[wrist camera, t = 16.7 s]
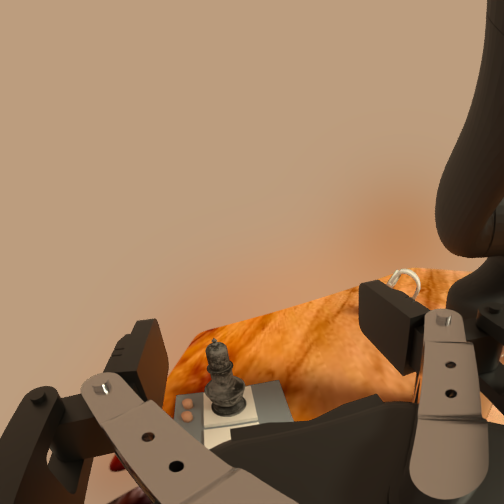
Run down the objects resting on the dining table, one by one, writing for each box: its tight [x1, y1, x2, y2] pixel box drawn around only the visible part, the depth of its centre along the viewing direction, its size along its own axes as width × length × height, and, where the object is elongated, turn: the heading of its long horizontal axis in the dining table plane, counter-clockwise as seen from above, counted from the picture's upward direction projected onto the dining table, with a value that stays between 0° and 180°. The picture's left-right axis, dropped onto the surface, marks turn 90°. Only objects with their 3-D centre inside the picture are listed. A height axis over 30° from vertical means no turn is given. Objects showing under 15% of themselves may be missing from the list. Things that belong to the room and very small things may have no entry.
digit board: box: [174, 380, 294, 449], centre depth 38 cm, size 17×18×2 cm
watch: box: [386, 269, 421, 300], centre depth 61 cm, size 6×8×11 cm
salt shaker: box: [204, 338, 246, 417], centre depth 41 cm, size 6×6×12 cm
